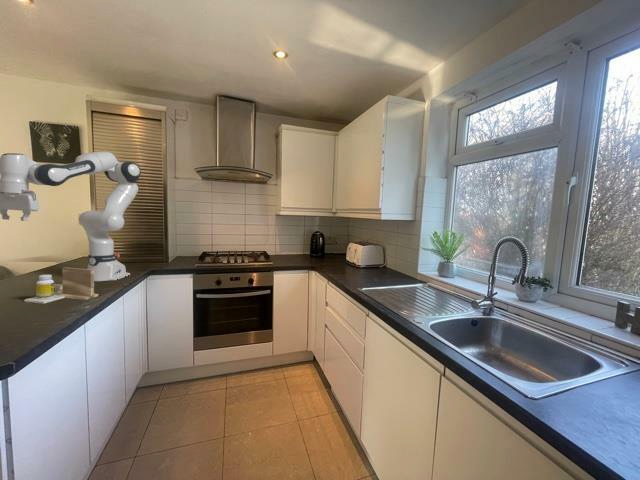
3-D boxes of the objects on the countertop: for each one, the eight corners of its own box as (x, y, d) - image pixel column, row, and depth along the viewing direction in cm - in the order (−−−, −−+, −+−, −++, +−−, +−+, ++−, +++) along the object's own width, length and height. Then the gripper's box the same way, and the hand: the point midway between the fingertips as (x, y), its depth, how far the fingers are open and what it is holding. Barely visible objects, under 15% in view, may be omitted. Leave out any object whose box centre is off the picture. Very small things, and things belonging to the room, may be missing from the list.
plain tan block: (53, 292, 129) (52, 284, 128) (62, 292, 129) (62, 284, 129) (45, 295, 125) (45, 286, 124) (56, 295, 125) (55, 286, 125)
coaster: (47, 295, 124) (47, 293, 123) (65, 297, 123) (65, 295, 123) (24, 301, 115) (24, 299, 114) (43, 303, 114) (43, 301, 114)
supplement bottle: (54, 298, 119) (53, 276, 118) (36, 300, 115) (35, 277, 114) (54, 295, 122) (53, 273, 122) (36, 297, 119) (36, 274, 118)
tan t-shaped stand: (70, 293, 129) (70, 266, 127) (98, 296, 127) (98, 268, 126) (57, 297, 123) (57, 268, 122) (86, 299, 121) (86, 271, 120)
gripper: (43, 191, 125) (43, 221, 126) (3, 189, 127) (3, 218, 128) (27, 190, 119) (27, 221, 120) (-15, 187, 120) (-14, 218, 121)
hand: (15, 220), depth 124 cm, fingers open, 8 cm apart
